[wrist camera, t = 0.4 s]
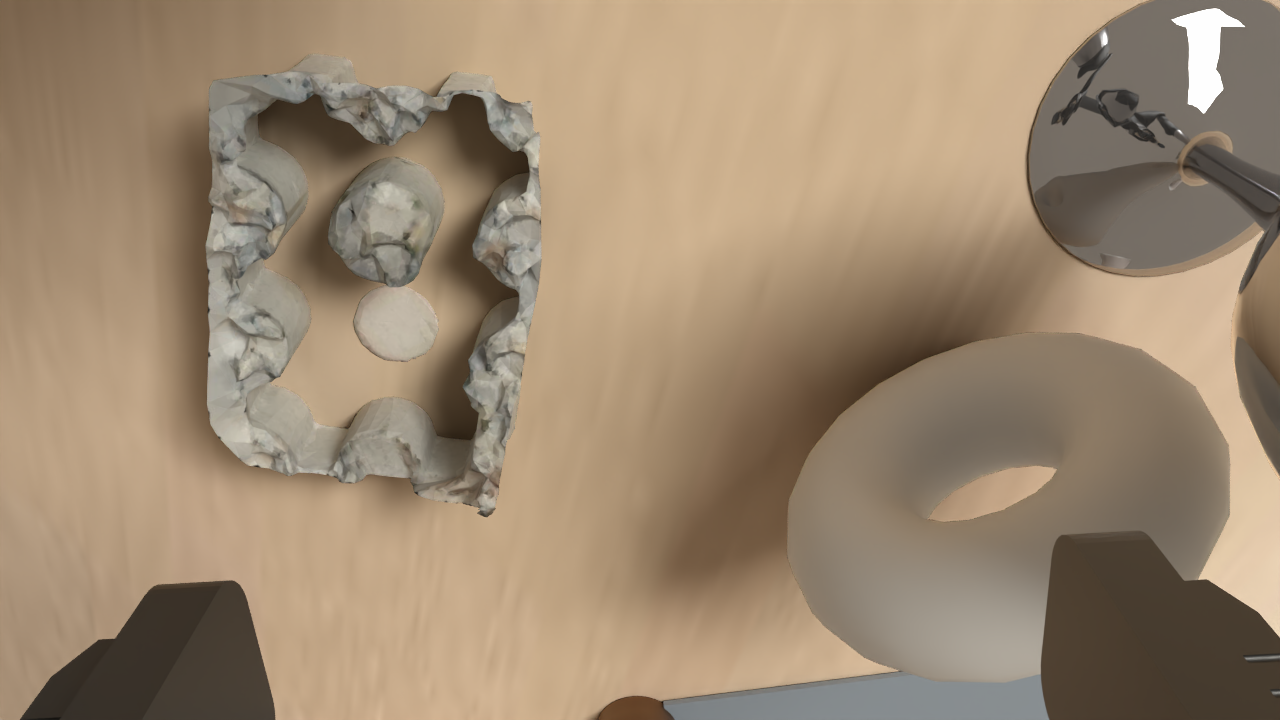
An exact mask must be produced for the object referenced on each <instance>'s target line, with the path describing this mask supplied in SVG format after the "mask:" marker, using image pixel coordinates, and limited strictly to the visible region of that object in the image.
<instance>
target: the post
mask: <svg viewBox="0 0 1280 720" xmlns="http://www.w3.org/2000/svg"><path fill="white" fill-rule="evenodd" d="M598 720H675V719H674V718H673V716H672V715H671V714H670V713H669V712H668V711H667V710H666V709H664V705H663V703H662V702H660V701H658V700H655V699H652V698H648V697H642V696H634V697H626V698H622V699H619V700H617V701H615V702H613V703H611V704H610V705H608V706H607V707H606V708H605V709H604V710H603V711H602V712H601V714H600V716H599V718H598Z"/></svg>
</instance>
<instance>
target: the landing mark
mask: <svg viewBox="0 0 1280 720" xmlns="http://www.w3.org/2000/svg"><path fill="white" fill-rule="evenodd" d="M663 705H664V709H666V710H667V711H668V712H669V713H670V714H671V715H672V716H673V718H674V719H675V720H1049V717H1048V714H1047V711H1046V707H1045V702H1044V697H1043V692H1042V684H1041V674H1039V675H1035V676H1030V677H1026V678H1022V679H1018V680H1014V681H1009V682H1005V683H1000V682H935V681H932V680H929V679H926V678H923V677H919V676H916V675H913V674H910V673H907V672H903V671H902V672H893V673H885V674H877V675H869V676H861V677H853V678H845V679H837V680H829V681H821V682H813V683H805V684H797V685H789V686H780V687H772V688H764V689H756V690H748V691H740V692H732V693H724V694H716V695H708V696H700V697H692V698H684V699H676V700H667V701H663Z"/></svg>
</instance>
